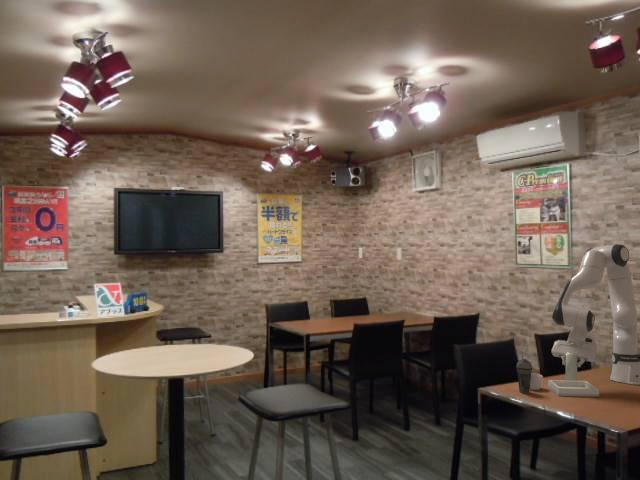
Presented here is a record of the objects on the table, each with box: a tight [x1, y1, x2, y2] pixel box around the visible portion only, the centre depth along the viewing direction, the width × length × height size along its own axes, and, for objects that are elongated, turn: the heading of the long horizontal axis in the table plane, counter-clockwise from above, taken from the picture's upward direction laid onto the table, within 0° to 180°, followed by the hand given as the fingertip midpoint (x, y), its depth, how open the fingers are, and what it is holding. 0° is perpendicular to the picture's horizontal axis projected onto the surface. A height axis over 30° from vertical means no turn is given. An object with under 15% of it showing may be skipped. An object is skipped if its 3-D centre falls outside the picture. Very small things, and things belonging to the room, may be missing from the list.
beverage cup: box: [516, 349, 533, 394], centre depth 262 cm, size 7×7×20 cm
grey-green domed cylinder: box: [565, 353, 578, 381], centre depth 262 cm, size 5×5×12 cm
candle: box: [530, 372, 544, 391], centre depth 269 cm, size 9×9×6 cm
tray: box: [547, 379, 600, 398], centre depth 262 cm, size 18×16×4 cm
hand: (571, 365), depth 262 cm, fingers closed on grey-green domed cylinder, 5 cm apart
